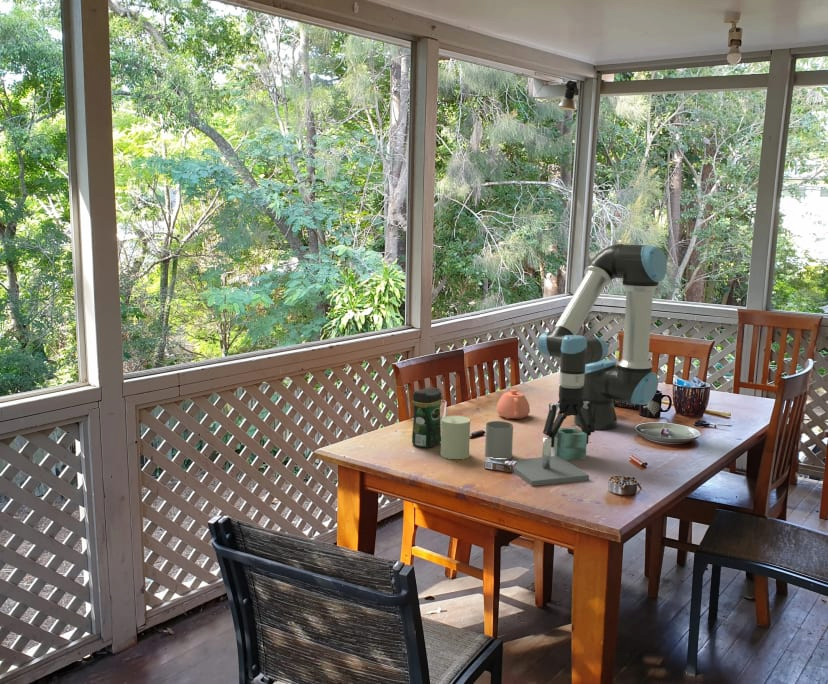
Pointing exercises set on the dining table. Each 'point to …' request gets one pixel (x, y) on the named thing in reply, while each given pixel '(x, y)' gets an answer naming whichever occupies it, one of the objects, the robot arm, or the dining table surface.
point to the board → (548, 471)
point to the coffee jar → (426, 417)
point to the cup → (499, 439)
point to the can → (455, 437)
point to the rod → (546, 452)
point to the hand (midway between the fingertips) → (567, 455)
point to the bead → (571, 443)
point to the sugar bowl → (513, 405)
